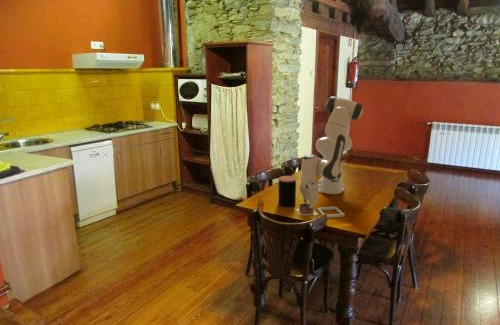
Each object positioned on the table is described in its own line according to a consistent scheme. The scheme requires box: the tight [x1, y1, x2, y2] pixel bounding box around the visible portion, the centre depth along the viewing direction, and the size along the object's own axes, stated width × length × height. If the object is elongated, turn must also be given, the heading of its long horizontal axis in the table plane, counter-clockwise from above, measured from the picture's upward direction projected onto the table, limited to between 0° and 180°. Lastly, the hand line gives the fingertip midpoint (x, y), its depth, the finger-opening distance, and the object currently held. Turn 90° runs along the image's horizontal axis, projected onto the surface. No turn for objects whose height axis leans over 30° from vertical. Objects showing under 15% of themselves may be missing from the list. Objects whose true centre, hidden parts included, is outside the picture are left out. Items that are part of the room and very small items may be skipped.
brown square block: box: [299, 202, 315, 214], centre depth 208 cm, size 6×6×4 cm
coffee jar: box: [278, 175, 297, 208], centre depth 219 cm, size 11×11×18 cm
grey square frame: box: [316, 206, 345, 219], centre depth 206 cm, size 12×12×2 cm
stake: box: [294, 204, 320, 217], centre depth 208 cm, size 11×11×6 cm
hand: (308, 205), depth 207 cm, fingers open, 8 cm apart
